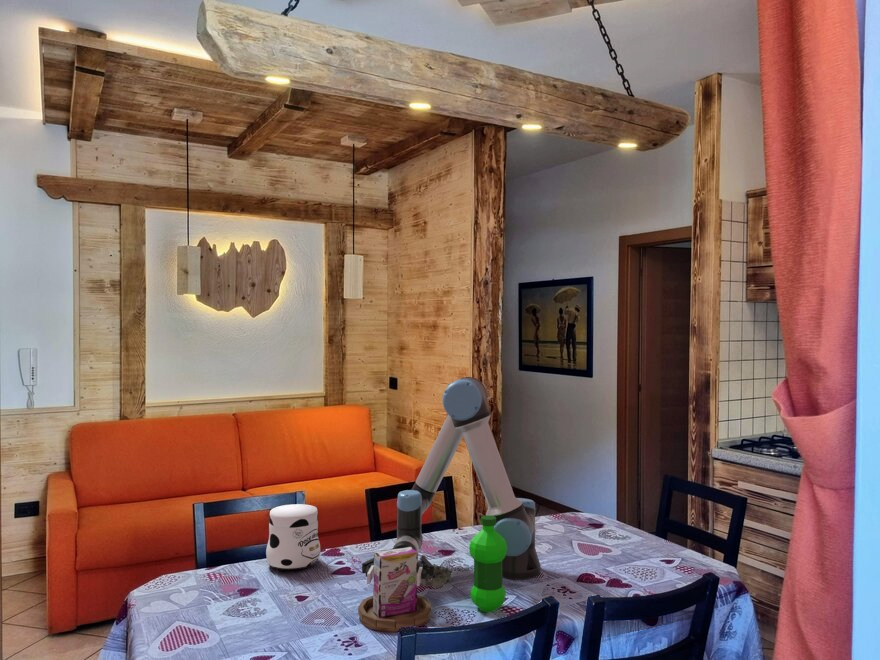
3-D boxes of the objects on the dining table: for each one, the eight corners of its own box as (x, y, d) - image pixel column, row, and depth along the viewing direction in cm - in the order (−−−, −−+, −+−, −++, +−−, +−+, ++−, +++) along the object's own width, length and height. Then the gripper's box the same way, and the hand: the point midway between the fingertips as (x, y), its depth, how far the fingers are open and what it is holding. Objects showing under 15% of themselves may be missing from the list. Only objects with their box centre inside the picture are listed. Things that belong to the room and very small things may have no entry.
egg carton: (438, 590, 198) (438, 576, 198) (416, 585, 201) (416, 572, 201) (455, 578, 207) (455, 565, 207) (434, 574, 211) (434, 561, 211)
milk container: (321, 572, 211) (321, 515, 211) (264, 576, 208) (265, 518, 208) (319, 554, 228) (319, 502, 228) (267, 558, 225) (267, 504, 225)
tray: (436, 604, 187) (436, 594, 187) (422, 635, 168) (422, 623, 168) (370, 599, 190) (370, 589, 190) (349, 628, 171) (350, 617, 171)
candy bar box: (379, 620, 174) (379, 557, 174) (372, 612, 179) (372, 551, 179) (418, 612, 179) (418, 551, 179) (410, 605, 184) (410, 545, 184)
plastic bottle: (479, 597, 192) (479, 510, 192) (513, 605, 186) (513, 516, 186) (462, 610, 183) (463, 519, 183) (497, 618, 178) (497, 524, 178)
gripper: (446, 567, 196) (439, 596, 175) (363, 564, 198) (347, 592, 177) (446, 541, 196) (439, 567, 175) (363, 539, 198) (347, 564, 177)
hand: (393, 580), depth 176 cm, fingers open, 12 cm apart
